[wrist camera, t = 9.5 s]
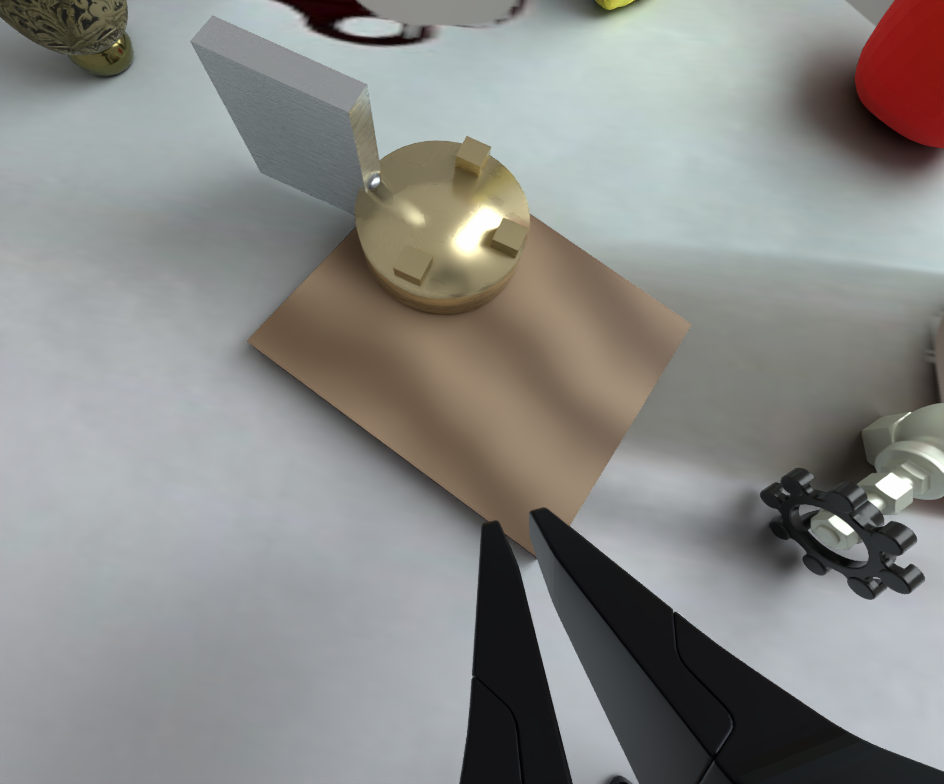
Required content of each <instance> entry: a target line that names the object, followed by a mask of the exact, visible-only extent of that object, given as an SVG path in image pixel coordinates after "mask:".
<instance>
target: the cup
mask: <svg viewBox="0 0 944 784" xmlns="http://www.w3.org/2000/svg"><path fill="white" fill-rule="evenodd" d="M0 17H1V18H2V19H3V20H4V21H5V22H7V23H8V24H9V25H10V26H12V27H13V28H14V29H15V30H17V31H18V32H19V33H21V34H22V35H24V36H25V37H27V38H28V39H30V40H32V41H33V42H35V43H37V44H39V45H41V46H43V47H45V48H47V49H50V50H53V51H56V52H59V53H63V54H67V56H68V57H69V59H70V60H71V61H72V62H73V63H75V64H76V65H77V66H79V67H80V68H82V69H83V70H85V71H87V72H89V73H91V74H94V75H99V76H110V75H115V74H118V73H120V72H122V71H124V70H125V69H126V68H127V67H128V66H129V65H130V64H131V62H132V60H133V56H134V52H133V46H132V43H131V40H130V37H129V36H128V34H127V33H126V32H125V29H126V25H127V19H128V9H127V2H126V0H0Z"/></svg>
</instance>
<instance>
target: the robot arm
mask: <svg viewBox="0 0 944 784" xmlns="http://www.w3.org/2000/svg"><path fill="white" fill-rule="evenodd" d="M529 534H530V539H531V543H532V545H533V548H534V551H535V554H536V557H537V560H538V563H539V565H540V568H541V571H542V574H543V577H544V580H545V582H546V585H547V588H548V591H549V594H550V596H551V599H552V602H553V604H554V607H555V609H556V611H557V613H558V616H559V618H560V620H561V622H562V624H563V626H564V628H565V630H566V632H567V634H568V636H569V638H570V641H571V643H572V645H573V647H574V649H575V651H576V653H577V655H578V657H579V659H580V661H581V663H582V666H583V668H584V670H585V672H586V674H587V676H588V678H589V680H590V682H591V684H592V686H593V688H594V691H595V693H596V695H597V697H598V699H599V701H600V703H601V705H602V707H603V709H604V711H605V713H606V716H607V718H608V720H609V722H610V724H611V726H612V728H613V730H614V732H615V734H616V736H617V738H618V741H619V743H620V745H621V747H622V749H623V751H624V753H625V755H626V757H627V759H628V761H629V763H630V766H631V768H632V770H633V772H634V774H635V776H636V778H637V780H638V782H639V784H944V771H941V770H938V769H936V768H933V767H930V766H928V765H925V764H922V763H920V762H917V761H914V760H912V759H909V758H906V757H904V756H901V755H899V754H896V753H893V752H891V751H888V750H886V749H883V748H881V747H878V746H876V745H874V744H871V743H869V742H867V741H865V740H863V739H861V738H859V737H857V736H855V735H853V734H851V733H849V732H848V731H846V730H844V729H843V728H841V727H839V726H837V725H836V724H834V723H832V722H831V721H829V720H828V719H826V718H825V717H823V716H822V715H820V714H819V713H817V712H816V711H814V710H813V709H811V708H810V707H808V706H807V705H805V704H804V703H802V702H801V701H800V700H798V699H797V698H795V697H794V696H792V695H791V694H789V693H788V692H786V691H785V690H783V689H782V688H780V687H779V686H777V685H776V684H774V683H773V682H771V681H770V680H768V679H767V678H766V677H764V676H763V675H761V674H760V673H758V672H757V671H755V670H754V669H752V668H751V667H749V666H748V665H746V664H745V663H744V662H742V661H741V660H739V659H738V658H736V657H735V656H734V655H732V654H731V653H729V652H728V651H726V650H725V649H724V648H722V647H721V646H719V645H718V644H717V643H715V642H714V641H713V640H711V639H710V638H709V637H708V636H706V635H705V634H704V633H702V632H701V631H700V630H698V629H697V628H696V627H695V626H693V625H692V624H691V623H689V622H688V621H687V620H686V619H685V618H683V617H682V616H681V615H680V614H678V613H677V612H674V613H673V609H672V608H671V607H670V606H668V605H667V604H666V603H665V602H663V601H662V600H661V599H660V598H658V597H657V596H656V595H655V594H653V593H652V592H651V591H650V590H648V589H647V588H646V587H645V586H643V585H642V584H641V583H640V582H638V581H637V580H636V579H635V578H633V577H632V576H631V575H630V574H628V573H627V572H626V571H625V570H623V569H622V568H621V567H620V566H619V565H617V564H616V563H615V562H614V561H612V560H611V559H610V558H609V557H607V556H606V555H605V554H604V553H602V552H601V551H600V550H599V549H597V548H596V547H595V546H594V545H592V544H591V543H590V542H589V541H587V540H586V539H585V538H584V537H582V536H581V535H580V534H579V533H577V532H576V531H575V530H574V529H573V528H571V527H570V526H569V525H568V524H566V523H565V522H564V521H563V520H561V519H560V518H559V517H558V516H556V515H555V514H554V513H553V512H551V511H550V510H549V509H548V508H545V507H542V508H538V509H534V510H531V511H530V512H529ZM472 676H473V678H472V680H471V696H470V708H469V719H468V729H467V738H466V744H465V751H464V758H463V764H462V771H461V777H460V782H459V784H573V783H572V779H571V775H570V771H569V767H568V763H567V759H566V755H565V751H564V747H563V743H562V739H561V735H560V731H559V727H558V722H557V718H556V714H555V710H554V706H553V702H552V698H551V694H550V690H549V686H548V682H547V678H546V674H545V670H544V666H543V662H542V658H541V654H540V650H539V646H538V642H537V638H536V634H535V630H534V626H533V622H532V618H531V614H530V610H529V606H528V601H527V597H526V593H525V589H524V585H523V581H522V577H521V573H520V570H519V567H518V564H517V561H516V559H515V556H514V554H513V552H512V549H511V547H510V545H509V542H508V540H507V538H506V535H505V533H504V531H503V529H502V526H501V524H500V522H499V521H498V520H493V521H489V522H486V523H483V524H482V528H481V543H480V558H479V574H478V590H477V605H476V621H475V636H474V652H473V668H472ZM610 784H632V783H631V782H630V781H628V780H627V779H626V778H624V777H622V776H617V777H615V778H613V780H612V781H611V783H610Z"/></svg>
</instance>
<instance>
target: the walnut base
mask: <svg viewBox="0 0 944 784" xmlns="http://www.w3.org/2000/svg"><path fill="white" fill-rule="evenodd" d="M529 214H530V213H529ZM691 325H692V324H690V323H689V322H687V321H686V320H685V319H683V318H682V317H680V316H679V315H677V314H676V313H674V312H673V311H671V310H670V309H668V308H667V307H666V306H664V305H663V304H661V303H660V302H658V301H657V300H655V299H654V298H652V297H651V296H649V295H648V294H647V293H645V292H644V291H642V290H641V289H639V288H638V287H636V286H635V285H633V284H632V283H630V282H629V281H628V280H626V279H625V278H623V277H622V276H620V275H619V274H617V273H616V272H614V271H613V270H611V269H610V268H609V267H607V266H606V265H604V264H603V263H601V262H600V261H598V260H597V259H595V258H594V257H592V256H591V255H590V254H588V253H587V252H585V251H584V250H582V249H581V248H579V247H578V246H576V245H575V244H573V243H572V242H571V241H569V240H568V239H566V238H565V237H563V236H562V235H560V234H559V233H557V232H556V231H554V230H553V229H552V228H550V227H549V226H547V225H546V224H544V223H543V222H541V221H540V220H538V219H537V218H535V217H534V216H533V215H531V214H530V230H529V235H528V240H527V242H526V245H525V248H524V250H523V253H522V256H521V258H520V261H519V263H518V266H517V268H516V271H515V274H514V275H513V277H512V279H511V281H510V282H509V284H508V285H507V286H506V287H505V289H504V290H503V291H502V292H501V293H500V294H499V295H498V296H496V297H495V298H494V299H492V300H491V301H490V302H488V303H486V304H484V305H482V306H480V307H478V308H475V309H473V310H469V311H465V312H461V313H454V314H437V313H429V312H425V311H421V310H417V309H415V308H412V307H409V306H407V305H405V304H403V303H401V302H400V301H398V300H397V299H395V298H394V297H392V296H391V295H390V294H388V293H387V292H386V291H385V290H384V289H383V288H382V287H381V286H380V285H379V283H378V282H377V281H376V280H375V278H374V277H373V275H372V273H371V272H370V270H369V267H368V265H367V263H366V260H365V256H364V253H363V249H362V246H361V242H360V239H359V235H358V232H357V228H356V227H355V228H354V229H353V230H352V231H351V233H350V234H349V235H348V236H347V237H346V238H345V239H344V240H343V241H342V242H341V243H340V244H339V245H338V246H337V247H336V248H335V249H334V250H333V251H332V252H331V253H330V254H329V255H328V257H327V258H326V259H325V260H324V261H323V262H322V263H321V264H320V265H319V266H318V267H317V268H316V269H315V270H314V271H313V272H312V273H311V274H310V275H309V276H308V277H307V278H306V279H305V280H304V282H303V283H302V284H301V285H300V286H299V287H298V288H297V289H296V290H295V291H294V292H293V293H292V294H291V295H290V296H289V297H288V298H287V299H286V300H285V301H284V302H283V303H282V304H281V306H280V307H279V308H278V309H277V310H276V311H275V312H274V313H273V314H272V315H271V316H270V317H269V318H268V319H267V320H266V321H265V322H264V323H263V324H262V325H261V326H260V327H259V328H258V330H257V331H256V332H255V333H254V334H253V335H252V336H251V337H250V338H249V339H248V340H247V342H248V343H250V344H251V345H252V346H253V347H255V348H256V349H257V350H258V351H260V352H261V353H262V354H264V355H265V356H267V357H268V358H269V359H271V360H272V361H273V362H275V363H276V364H277V365H279V366H280V367H281V368H283V369H284V370H285V371H287V372H288V373H289V374H291V375H292V376H293V377H295V378H296V379H297V380H299V381H300V382H301V383H303V384H304V385H305V386H307V387H308V388H310V389H311V390H312V391H314V392H315V393H316V394H318V395H319V396H320V397H322V398H323V399H324V400H326V401H327V402H328V403H330V404H331V405H332V406H334V407H335V408H336V409H338V410H339V411H340V412H342V413H343V414H344V415H346V416H347V417H348V418H350V419H351V420H353V421H354V422H355V423H357V424H358V425H359V426H361V427H362V428H363V429H365V430H366V431H367V432H369V433H370V434H371V435H373V436H374V437H375V438H377V439H378V440H379V441H381V442H382V443H383V444H385V445H386V446H387V447H389V448H390V449H391V450H393V451H394V452H396V453H397V454H398V455H400V456H401V457H402V458H404V459H405V460H406V461H408V462H409V463H410V464H412V465H413V466H414V467H416V468H417V469H418V470H420V471H421V472H422V473H424V474H425V475H426V476H428V477H429V478H430V479H432V480H433V481H434V482H436V483H437V484H439V485H440V486H441V487H443V488H444V489H445V490H447V491H448V492H449V493H451V494H452V495H453V496H455V497H456V498H457V499H459V500H460V501H461V502H463V503H464V504H465V505H467V506H468V507H469V508H471V509H472V510H473V511H475V512H476V513H477V514H479V515H480V516H482V517H483V518H484V519H486V520H487V521H488V522H489V521H493V520H498V521H499V522H500V524H501V526H502V529H503V531H504V533H505V534H506V535H507V536H508V537H510V538H511V539H512V540H514V541H515V542H516V543H518V544H519V545H520V546H522V547H523V548H525V549H526V550H527V551H529V552H530V553H531V554H533V555H534V556H535V557H536V554H535V551H534V548H533V545H532V543H531V539H530V534H529V512H530V511H531V510H534V509H538V508H542V507H545V508H548V509H549V510H550V511H551V512H553V513H554V514H555V515H556V516H558V517H559V518H560V519H561V520H563V521H564V522H565V523H566V524H568V525H569V526H570V524H571V523H572V521H573V519H574V518H575V516H576V514H577V513H578V511H579V509H580V508H581V506H582V505H583V503H584V501H585V500H586V498H587V496H588V495H589V493H590V491H591V490H592V488H593V486H594V485H595V483H596V482H597V480H598V478H599V477H600V475H601V473H602V472H603V470H604V468H605V467H606V465H607V463H608V462H609V460H610V458H611V457H612V455H613V454H614V452H615V450H616V449H617V447H618V445H619V444H620V442H621V440H622V439H623V437H624V435H625V434H626V432H627V430H628V429H629V427H630V426H631V424H632V422H633V421H634V419H635V417H636V416H637V414H638V412H639V411H640V409H641V407H642V406H643V404H644V402H645V401H646V399H647V398H648V396H649V394H650V393H651V391H652V389H653V388H654V386H655V384H656V383H657V381H658V379H659V378H660V376H661V374H662V373H663V371H664V370H665V368H666V366H667V365H668V363H669V361H670V360H671V358H672V356H673V355H674V353H675V351H676V350H677V348H678V346H679V345H680V343H681V342H682V340H683V338H684V337H685V335H686V333H687V332H688V330H689V328H690V327H691Z"/></svg>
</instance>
